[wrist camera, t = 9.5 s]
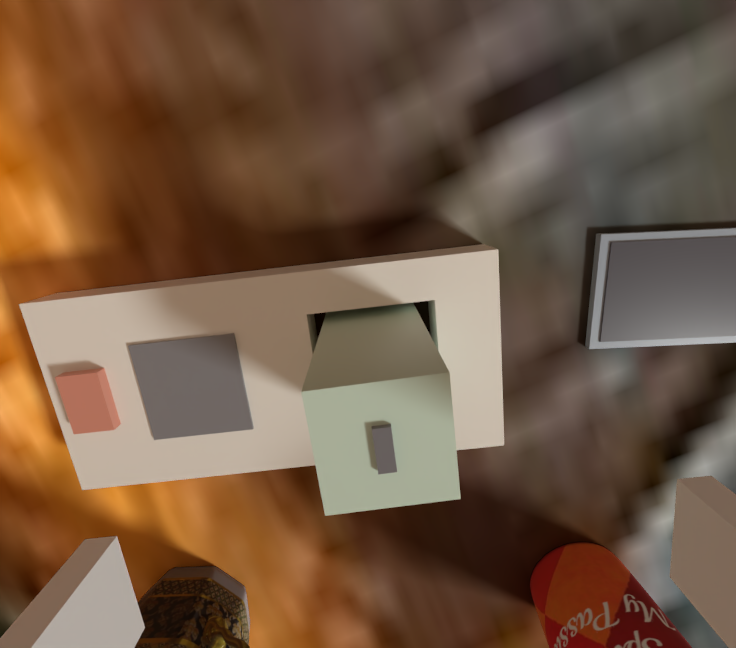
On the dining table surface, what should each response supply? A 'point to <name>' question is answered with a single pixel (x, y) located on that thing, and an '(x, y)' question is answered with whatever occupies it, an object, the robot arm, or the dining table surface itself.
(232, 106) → the dining table surface
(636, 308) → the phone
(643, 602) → the coffee cup
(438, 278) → the power strip
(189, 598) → the ceramic cup
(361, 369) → the block
